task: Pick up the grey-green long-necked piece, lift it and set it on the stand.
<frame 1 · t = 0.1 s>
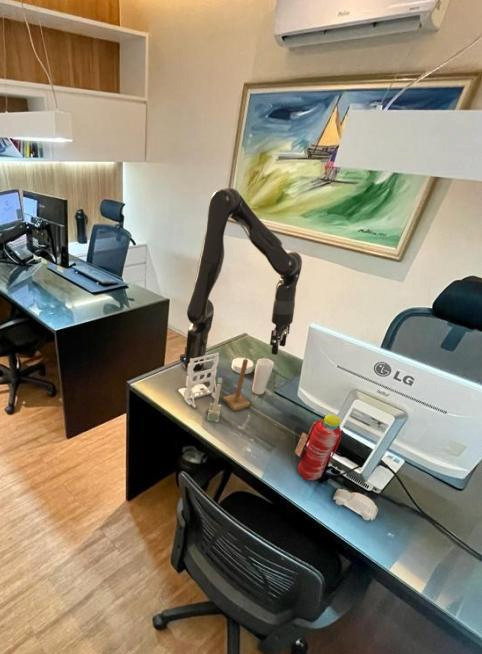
hand: (278, 349, 146), 22 cm above the table, tool pointing down, fingers open, 8 cm apart
car: (353, 506, 114), on the table
stand: (235, 402, 154), on the table
coaster: (241, 369, 176), on the table
grey-green long-necked piece: (213, 416, 147), on the table
water bottle: (303, 472, 125), on the table
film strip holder: (197, 395, 158), on the table
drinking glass: (257, 391, 162), on the table
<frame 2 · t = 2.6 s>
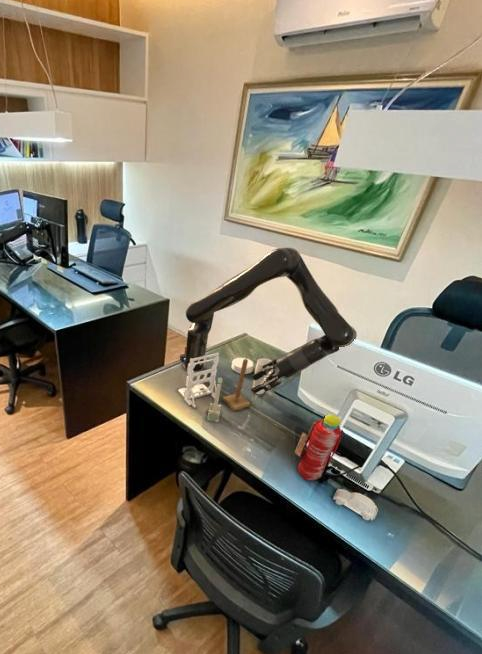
hand: (252, 384, 133), 18 cm above the table, tool tilted 45°, fingers open, 8 cm apart
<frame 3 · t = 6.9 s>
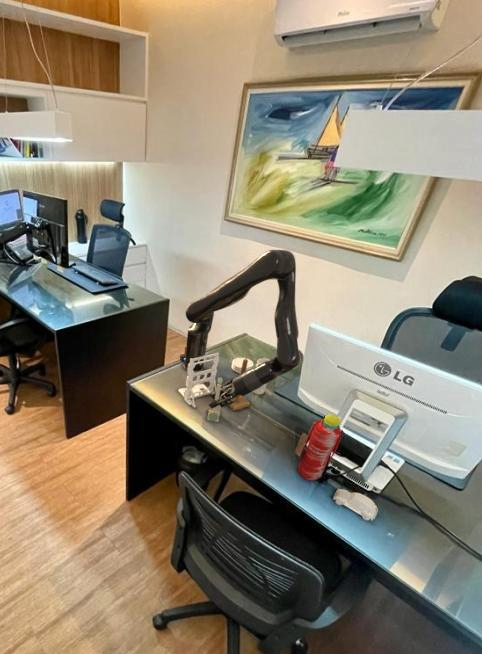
hand: (211, 401, 142), 7 cm above the table, tool tilted 45°, fingers closed on grey-green long-necked piece, 5 cm apart
grey-green long-necked piece: (213, 416, 147), on the table, touching gripper
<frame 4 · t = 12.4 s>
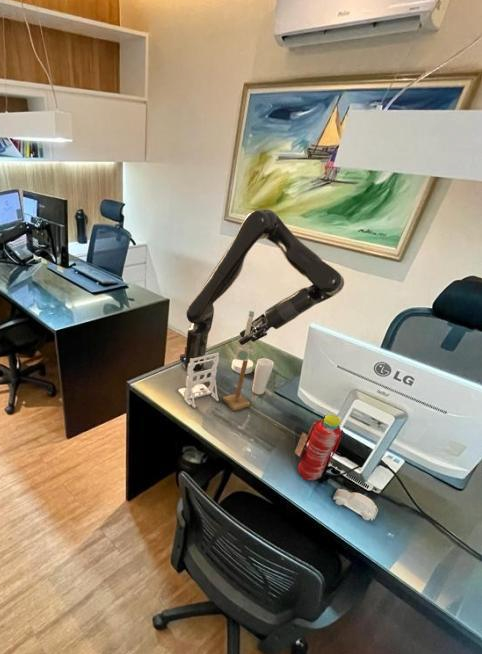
hand: (240, 339, 134), 31 cm above the table, tool tilted 45°, fingers closed on grey-green long-necked piece, 5 cm apart
grey-green long-necked piece: (242, 356, 138), point 23 cm above the table, touching gripper
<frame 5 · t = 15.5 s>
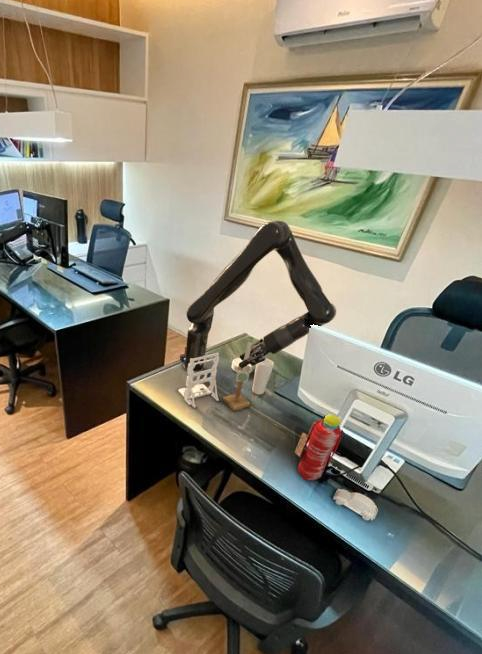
hand: (240, 362, 143), 20 cm above the table, tool tilted 45°, fingers closed on grey-green long-necked piece, 5 cm apart
grey-green long-necked piece: (241, 378, 147), point 12 cm above the table, touching gripper
when the fingers open (12 cm above the table, at t = 18.0 s): grey-green long-necked piece stays where it is, resting on stand.
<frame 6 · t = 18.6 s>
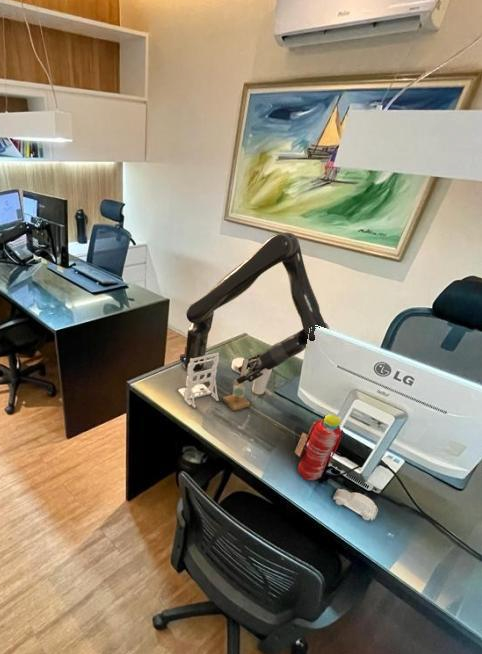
hand: (238, 376, 147), 13 cm above the table, tool tilted 45°, fingers open, 8 cm apart
grey-green long-necked piece: (238, 392, 151), point 5 cm above the table, touching stand
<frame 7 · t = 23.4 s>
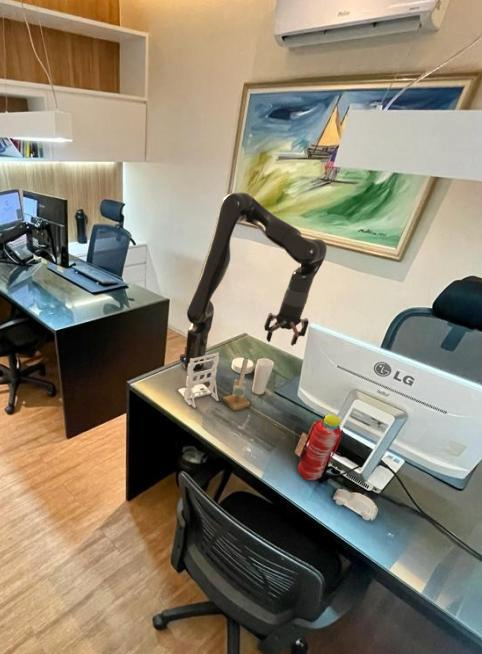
hand: (280, 342, 137), 29 cm above the table, tool pointing down, fingers open, 8 cm apart
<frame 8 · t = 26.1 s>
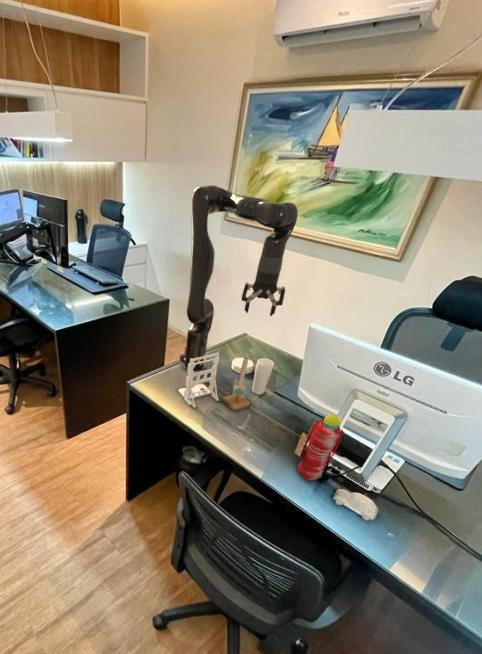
hand: (258, 313, 135), 38 cm above the table, tool pointing down, fingers open, 8 cm apart
at the end: grey-green long-necked piece 0.0 cm off-centre on the stand, point 5.2 cm above the stand's base; grey-green long-necked piece touching stand; the gripper is holding nothing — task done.
